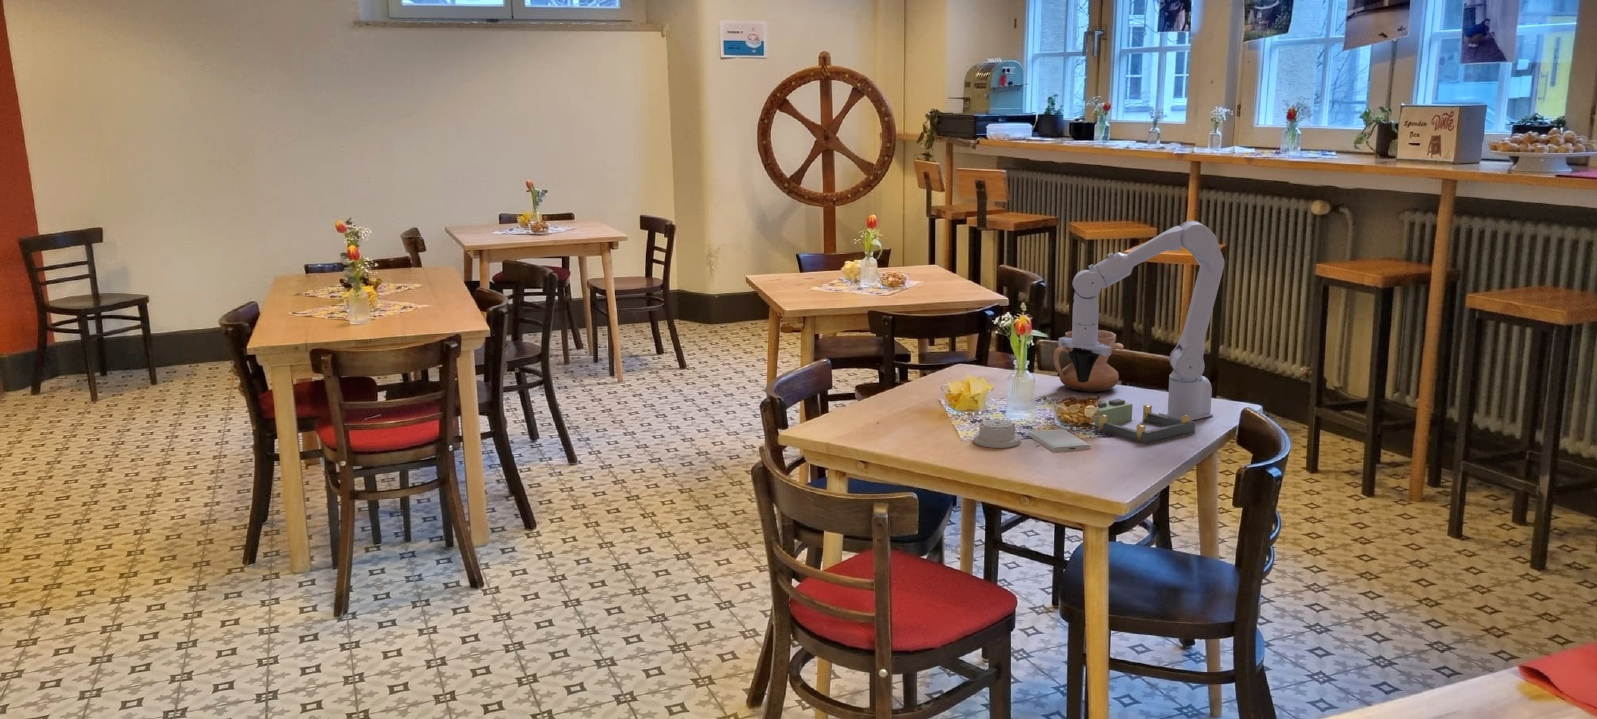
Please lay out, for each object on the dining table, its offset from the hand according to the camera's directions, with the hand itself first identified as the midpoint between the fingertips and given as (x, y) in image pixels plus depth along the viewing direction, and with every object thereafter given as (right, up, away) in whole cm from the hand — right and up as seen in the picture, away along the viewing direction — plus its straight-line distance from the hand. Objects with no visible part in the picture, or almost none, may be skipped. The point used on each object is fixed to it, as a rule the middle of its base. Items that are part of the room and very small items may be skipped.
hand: (1082, 381), depth 267 cm
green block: (+4, -9, -5) cm, 11 cm away
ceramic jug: (+7, -3, +26) cm, 27 cm away
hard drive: (-10, -13, -21) cm, 27 cm away
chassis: (+10, -11, -13) cm, 20 cm away
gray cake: (-23, -13, -19) cm, 33 cm away
